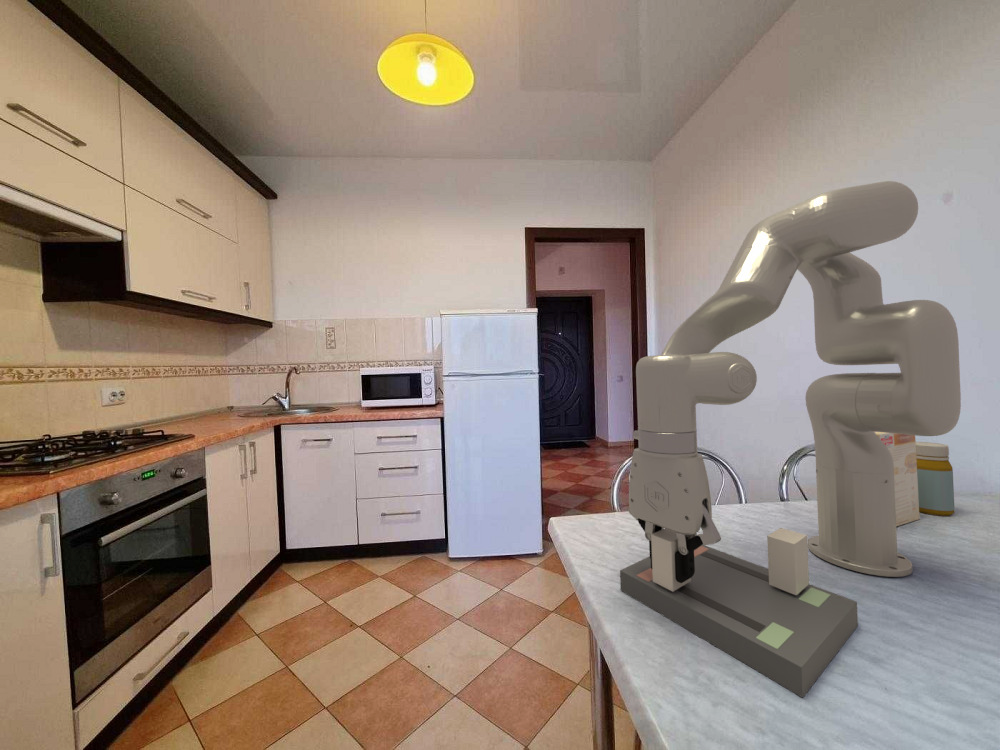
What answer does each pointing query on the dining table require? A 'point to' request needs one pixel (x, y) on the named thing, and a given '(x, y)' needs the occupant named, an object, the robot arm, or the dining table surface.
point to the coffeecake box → (903, 475)
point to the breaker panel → (751, 616)
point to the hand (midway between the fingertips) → (671, 571)
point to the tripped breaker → (665, 559)
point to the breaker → (788, 560)
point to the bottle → (934, 479)
